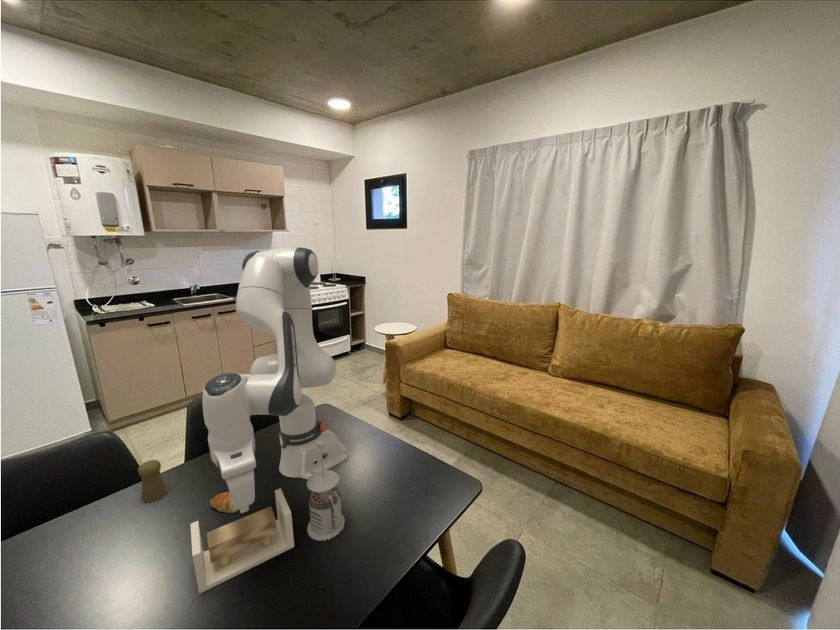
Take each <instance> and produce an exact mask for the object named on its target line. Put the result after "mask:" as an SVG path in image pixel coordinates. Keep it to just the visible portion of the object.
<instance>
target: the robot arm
mask: <svg viewBox="0 0 840 630" xmlns="http://www.w3.org/2000/svg"><path fill="white" fill-rule="evenodd" d="M241 270H242V273H241V276H240V280H239V283H238V289H237V294H236V299H235V300H236V301H235V309H236V312H237V315H238V316H239V318H240V319H241V320H242V321H243V322H244V323H246V324H248V326H251V327H253V328H255V329H257V330H260V331H263V332H266V333H267V334H270V335H272V336H273V337H274V338H275V340H276V348H277V351H276V353H277V354H268V355H264V356H261V357H257V358H256V359H255V360H254V361H253V363H252V364H251V366H250V369H249V373H244V374H243V373H239V374H238V373H233V372H230V373H229V372H227V373H221V374H219V375H217V376H214V377H212V378H211V379H209V380H208V381H207V382H206V383H205V385H204V386H203V390H202V413H203V418H204V425H205V427H206V428H207V430H208V435H207V442H208V448H209V453H210V459H211V462H212V463H214V464H215V466H216V467H217V468H218V471H219V473H220V476H221V479H223V480H225V482H226V485H227V489H228V492H230V495H231V498H232V501H233V504H234V506H235V508H236V509H239V513H241V514H243V513H245V512H246V513H247V512H248V511H249V510H250V507H249V506H250V505H252V504H254V502H255V499H256V492H255V489H256V488H255V487H256V485H255V472H254V471H255V470H254V469H256V468H257V461H256V456H255V453H256V452H255V451H256V439H255V434H254V433H255V432H254V427H253V424H252V422H251V416H256V415H258V416H259V415H260V416H261V415H265V416H266V415H270V416H276V417H278V419H279V425H280V427H279V428H278V429H279V432H278V433H279V435H278V436H279V443H280V446H281V453H280V462H279V464H278V465H279V466H278V471H279V472H280V474H281V475H283V476H285V477H287V478H288V477H289V478H297V479H298V478H299V479H300V478H301V479H304V480H308V479H309V478H310V476H312V475H313V474H314V473H316V472H319V471H322V461H323V470H331V469H332V468H334V467H335V466H338V465H339V464H340V463H343V462H344V461H345V462H346V460H348V457H349V453H348V449H347V448H346V446H345V444H344V443H343V442H341V441H340V440H339V439H338V438H339V437H338V436H337V435H336V434H335V433H334V432H333V431H331V430H330V429H328V427H327V426H326V425H325V424H324V423H322V421H321V420H319V418H317V417H316V404H315V402H314V400H313V399H312V398H311V397H310V396H309V395H307V394H305V393H303V392H302V389H306V388H308V389H309V388H311V389H312V388H318V387H322V386H326V385H329V384H330V383H332V381H333V380H334V378H335V375H336V371H337V367H336V363H335V360H334V358H333V357H332V356H331V355H330V354H329V353H327V352H325V350H324V349H323V348H321V346H320V345H319V344H318V342H317V340H316V338H315V335H314V329H313V308H312V307H313V304H312V303H313V302H312V294H311V289H310V286H311V285H312V283H313V282H314V281H315V279H316V277H317V276H318V273H319V262H318V258H317V255H316V253H314V251H313V250H312V249H311V248H307V247H300V246H299V247H297V248H296V247H278V248H275V249H274V248H273V249H267V250H262V251H260V250H256V251H253V252H250V253H248V254H247V255H246V256H245V257H244V259H243V260H242V264H241ZM319 441H324V443H325V446H324V447H322V461H321V448H318V447H317V443H318V442H319Z"/></svg>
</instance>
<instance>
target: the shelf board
mask: <svg viewBox="0 0 840 630" xmlns="http://www.w3.org/2000/svg"><path fill="white" fill-rule="evenodd" d="M276 520H277V518H276V517H275V514H274V510H273V508H272V506H271V505H270V506H268V507H266V508H263V509H261V510H258V511H256V512H254V513H251V514H249V515H247V516H244V517H241V518H240V519H237V520H234V521H232V522H229V523H227V524H224V525H222V526H219V527H218V528H214V529H213V530H210V531H208V532H206V536H207V537H206V538H207V545H208V550H209V554H210V560H211V563H213V562H215V561H217V560H219V559H221V558H223V557H226V556H228V555H230V554H232V553H234V552H237V551H239V550H241V549H243V548H245V547H247V546H250V545H252V544H254V543H256V542H258V541H260V540H263V539H265V538H267V537H269V536H271V535H273V534H276V533H277V527H276Z"/></svg>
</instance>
